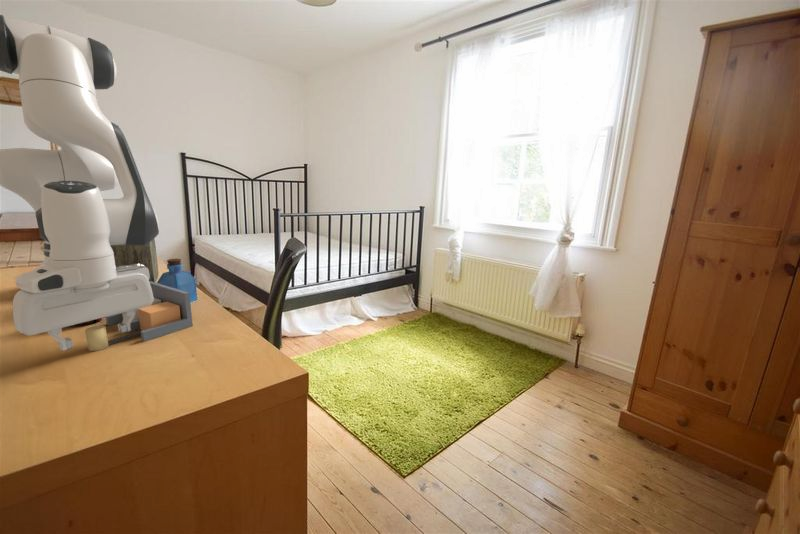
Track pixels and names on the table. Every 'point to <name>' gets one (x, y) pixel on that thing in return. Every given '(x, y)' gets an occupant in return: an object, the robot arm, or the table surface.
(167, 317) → the tan block and knob
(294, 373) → the table surface
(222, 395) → the table surface
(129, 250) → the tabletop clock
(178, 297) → the lane rack
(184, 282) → the perfume bottle
